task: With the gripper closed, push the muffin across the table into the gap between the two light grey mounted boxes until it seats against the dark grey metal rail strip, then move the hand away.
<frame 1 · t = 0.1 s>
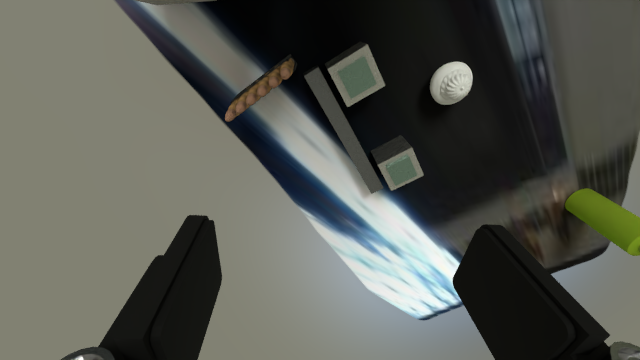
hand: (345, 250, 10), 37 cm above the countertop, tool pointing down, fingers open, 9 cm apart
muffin: (440, 79, 43), on the countertop
soap dispenser: (578, 197, 57), on the countertop
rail: (373, 117, 46), on the countertop
ammunition clip: (266, 80, 42), on the countertop
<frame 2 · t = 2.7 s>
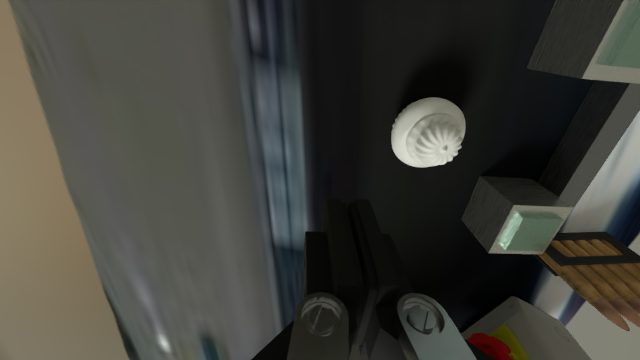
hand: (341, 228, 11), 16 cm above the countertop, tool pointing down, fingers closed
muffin: (412, 121, 26), on the countertop
electrical switch box: (481, 321, 44), on the countertop
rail: (528, 129, 27), on the countertop
ammunition clip: (562, 237, 35), on the countertop
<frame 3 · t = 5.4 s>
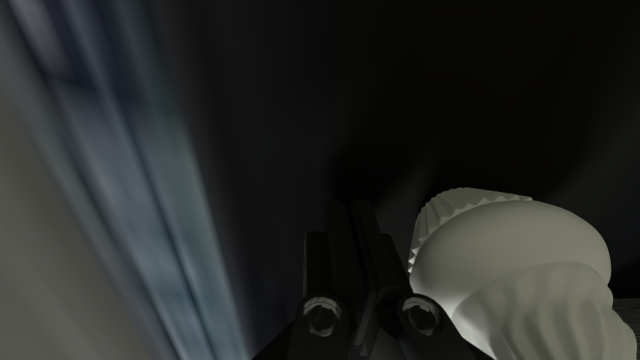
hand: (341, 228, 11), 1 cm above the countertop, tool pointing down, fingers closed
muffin: (449, 214, 12), on the countertop, touching gripper
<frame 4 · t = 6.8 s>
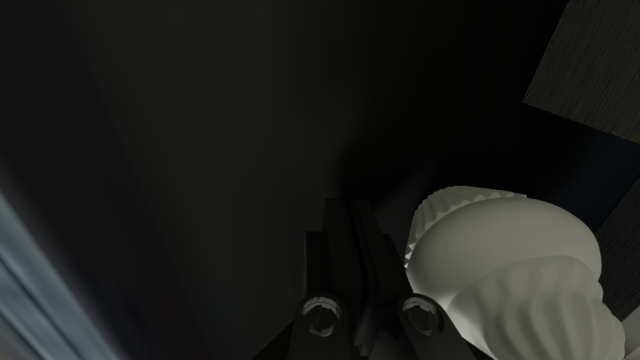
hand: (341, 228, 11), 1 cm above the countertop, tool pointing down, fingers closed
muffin: (445, 212, 13), on the countertop, touching gripper
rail: (526, 222, 13), on the countertop
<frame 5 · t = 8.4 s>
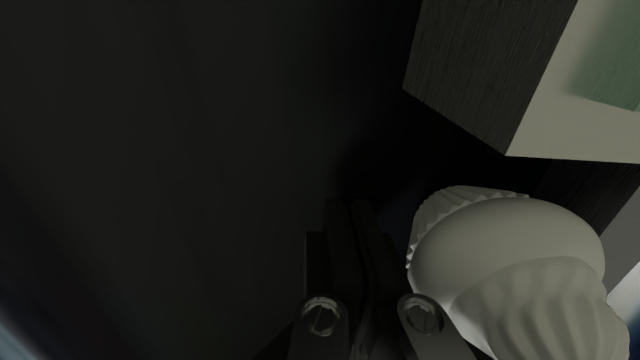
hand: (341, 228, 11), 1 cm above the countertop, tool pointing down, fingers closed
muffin: (446, 211, 12), on the countertop, touching gripper
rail: (436, 217, 12), on the countertop
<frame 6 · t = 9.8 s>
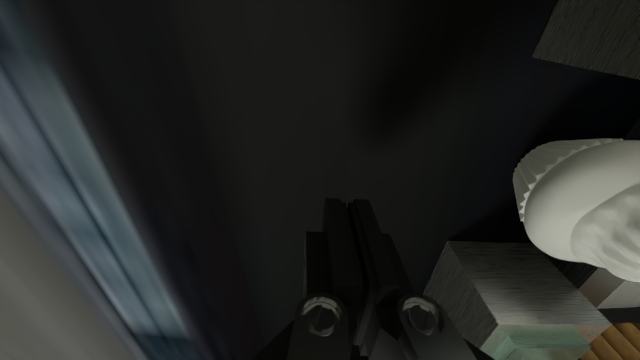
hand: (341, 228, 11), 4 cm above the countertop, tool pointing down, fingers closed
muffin: (540, 165, 15), on the countertop
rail: (532, 170, 15), on the countertop
ammunition clip: (576, 313, 24), on the countertop
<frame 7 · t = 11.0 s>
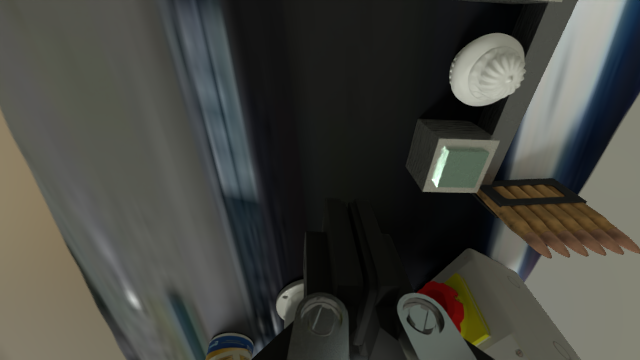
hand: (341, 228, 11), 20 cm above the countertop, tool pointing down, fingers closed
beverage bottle: (232, 341, 52), on the countertop
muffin: (465, 65, 27), on the countertop
electrical switch box: (441, 275, 45), on the countertop
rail: (460, 67, 27), on the countertop
ammunition clip: (510, 184, 36), on the countertop
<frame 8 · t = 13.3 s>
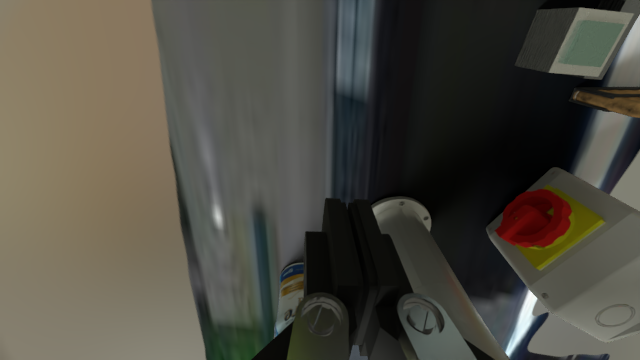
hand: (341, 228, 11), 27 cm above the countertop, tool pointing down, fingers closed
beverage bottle: (301, 275, 52), on the countertop
electrical switch box: (519, 200, 45), on the countertop
ammunition clip: (606, 93, 37), on the countertop
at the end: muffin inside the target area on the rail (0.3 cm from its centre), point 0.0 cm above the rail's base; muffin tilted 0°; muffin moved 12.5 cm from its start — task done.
